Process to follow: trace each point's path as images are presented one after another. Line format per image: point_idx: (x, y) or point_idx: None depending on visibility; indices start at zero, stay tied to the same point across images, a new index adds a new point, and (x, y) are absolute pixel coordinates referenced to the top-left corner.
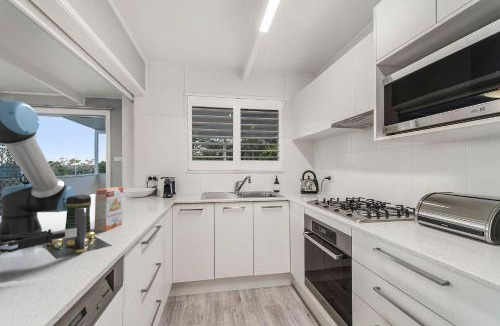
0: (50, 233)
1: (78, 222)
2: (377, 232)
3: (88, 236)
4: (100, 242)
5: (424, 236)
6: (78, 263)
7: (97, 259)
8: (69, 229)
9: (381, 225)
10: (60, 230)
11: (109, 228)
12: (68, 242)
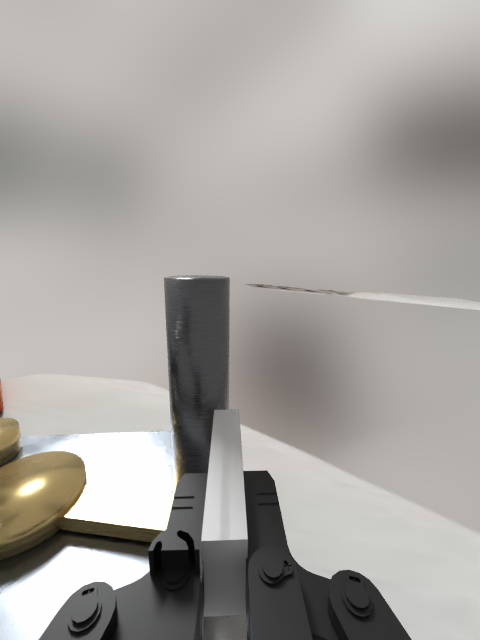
0: (291, 566)
1: (222, 370)
2: (386, 300)
3: (8, 447)
4: (127, 442)
5: (415, 298)
6: (328, 578)
7: (315, 499)
8: (238, 434)
9: (364, 295)
10: (221, 476)
11: (1, 390)
12: (5, 533)
